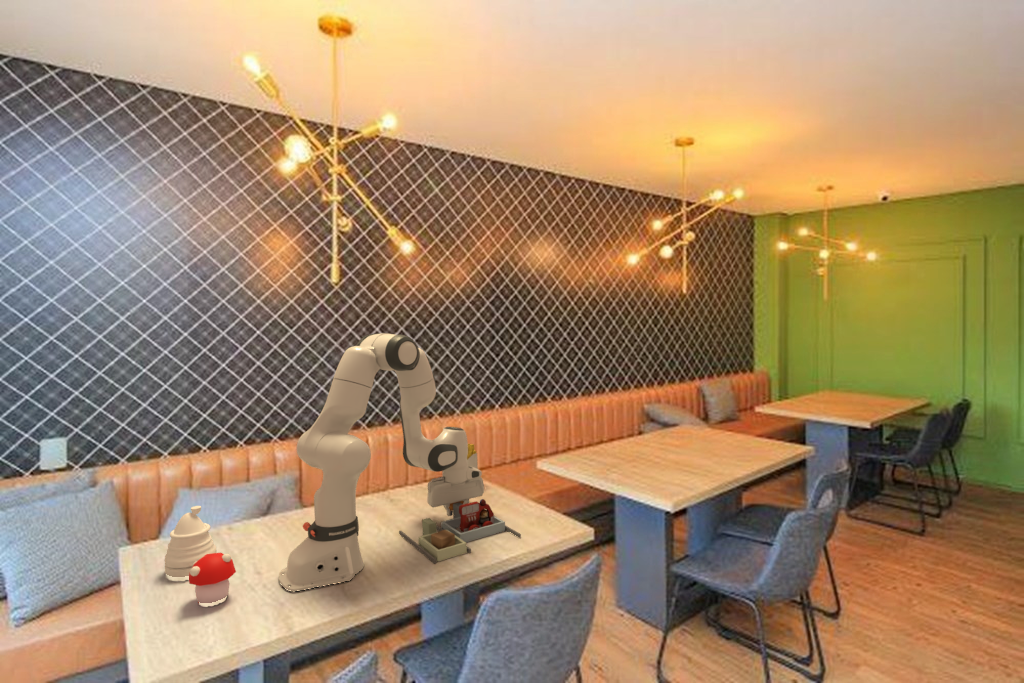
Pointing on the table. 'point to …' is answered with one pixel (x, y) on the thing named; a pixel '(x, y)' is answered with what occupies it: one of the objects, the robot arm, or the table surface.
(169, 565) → the honey pot
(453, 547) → the cube lane
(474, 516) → the toy fire truck
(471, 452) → the french fries container
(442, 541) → the walnut cube
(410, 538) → the lane rails
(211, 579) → the mushroom
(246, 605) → the table surface
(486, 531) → the grey open rectangular tray
